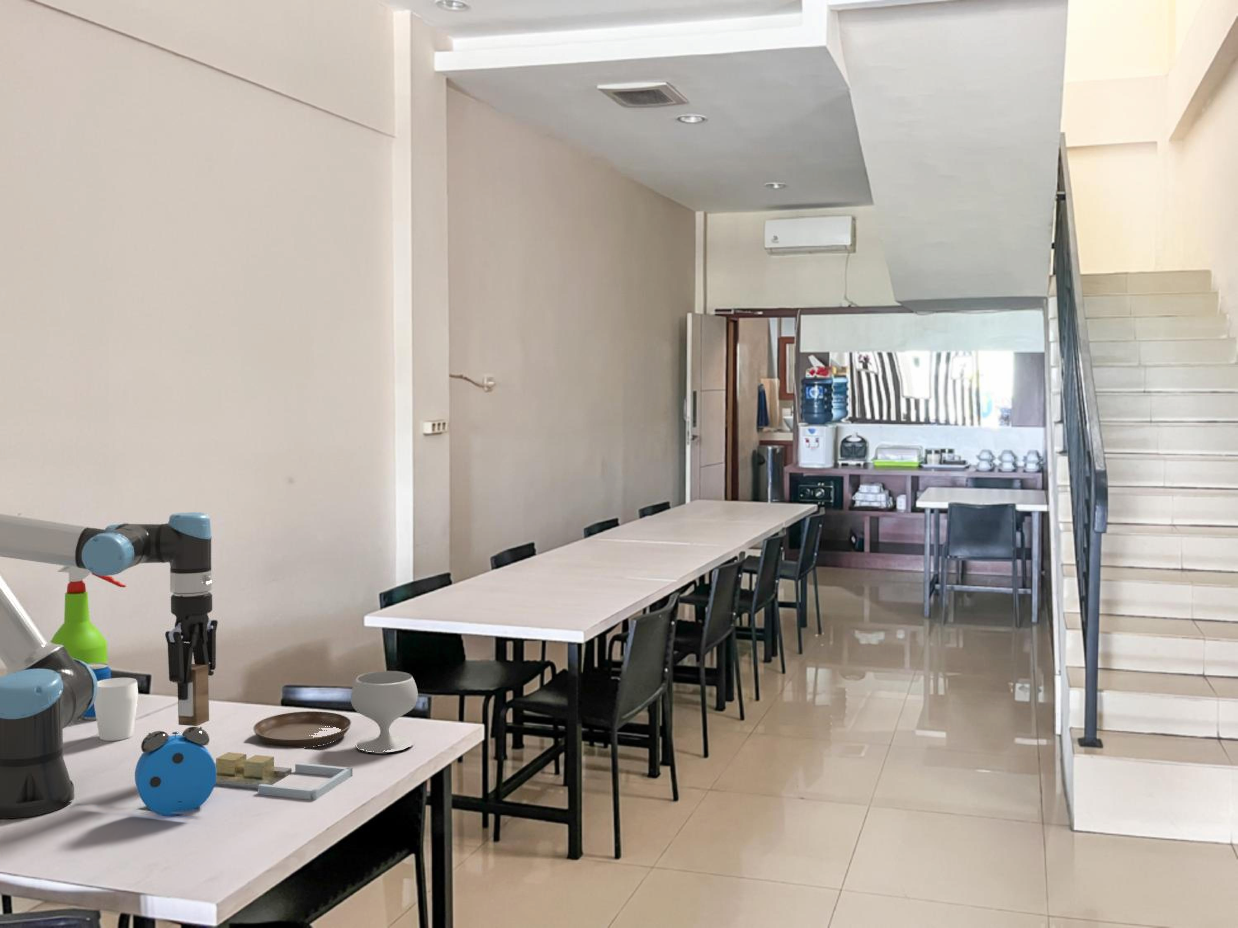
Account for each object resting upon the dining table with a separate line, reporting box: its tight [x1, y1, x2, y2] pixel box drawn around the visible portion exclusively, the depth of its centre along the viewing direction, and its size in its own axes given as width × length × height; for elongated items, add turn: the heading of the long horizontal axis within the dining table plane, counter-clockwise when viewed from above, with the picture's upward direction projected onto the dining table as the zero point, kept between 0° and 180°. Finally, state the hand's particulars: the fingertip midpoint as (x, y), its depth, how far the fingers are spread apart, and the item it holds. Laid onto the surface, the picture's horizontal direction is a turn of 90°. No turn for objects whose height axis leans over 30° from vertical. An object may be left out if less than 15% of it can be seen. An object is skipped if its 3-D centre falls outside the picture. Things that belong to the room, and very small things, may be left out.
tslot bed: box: [214, 762, 293, 791], centre depth 219 cm, size 10×16×2 cm, turn 75°
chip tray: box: [257, 762, 353, 801], centre depth 216 cm, size 14×12×2 cm
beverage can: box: [81, 663, 112, 721], centre depth 263 cm, size 6×6×12 cm
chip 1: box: [215, 751, 247, 778], centre depth 219 cm, size 4×4×4 cm
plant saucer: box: [252, 710, 352, 749], centre depth 249 cm, size 21×21×3 cm
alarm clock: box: [134, 726, 217, 817], centre depth 203 cm, size 13×6×15 cm, turn 118°
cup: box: [94, 677, 139, 742], centre depth 248 cm, size 9×9×12 cm
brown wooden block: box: [177, 663, 210, 727], centre depth 221 cm, size 4×4×11 cm
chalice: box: [350, 670, 419, 752], centre depth 243 cm, size 14×14×15 cm
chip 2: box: [244, 754, 275, 781], centre depth 218 cm, size 4×4×4 cm
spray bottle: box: [49, 566, 127, 665], centre depth 284 cm, size 14×18×35 cm
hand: (193, 711), depth 221 cm, fingers closed on brown wooden block, 4 cm apart
